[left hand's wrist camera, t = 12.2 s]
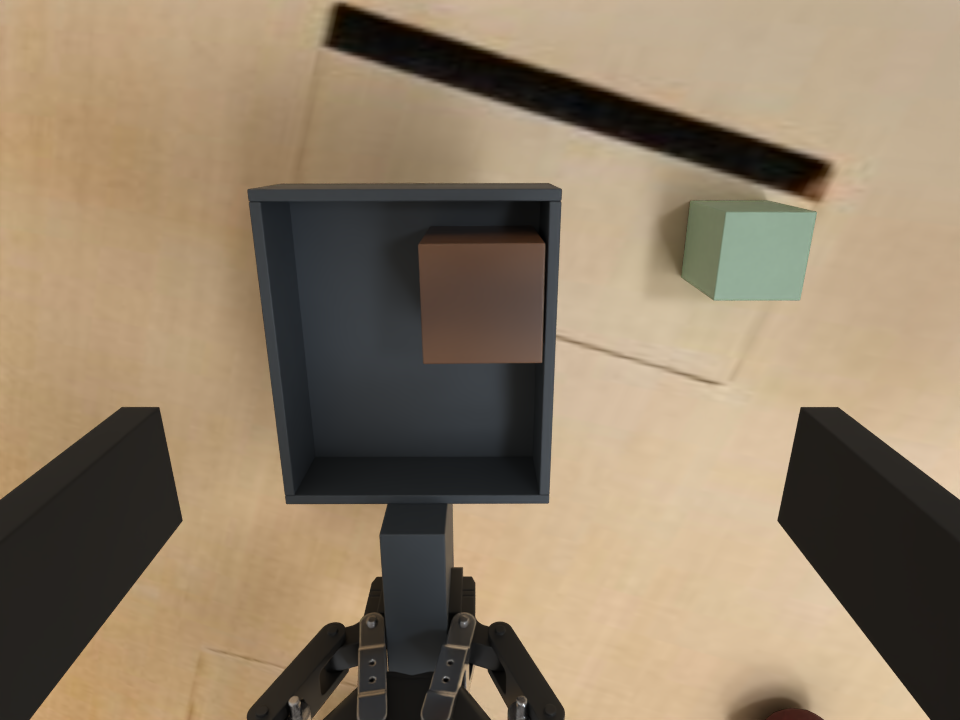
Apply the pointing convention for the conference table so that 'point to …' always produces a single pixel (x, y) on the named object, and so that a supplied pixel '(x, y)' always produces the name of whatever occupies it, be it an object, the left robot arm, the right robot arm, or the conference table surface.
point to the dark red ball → (793, 715)
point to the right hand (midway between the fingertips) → (425, 580)
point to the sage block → (747, 249)
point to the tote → (397, 378)
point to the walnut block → (481, 294)
